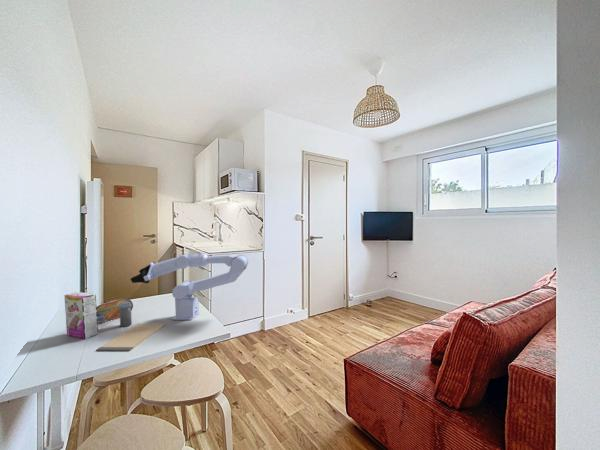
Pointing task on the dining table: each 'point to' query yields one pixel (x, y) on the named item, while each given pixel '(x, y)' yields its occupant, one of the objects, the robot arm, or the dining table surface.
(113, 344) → the notepad
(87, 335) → the candy bar box
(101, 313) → the tin
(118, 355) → the dining table surface
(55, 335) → the dining table surface
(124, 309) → the blue grey cylinder
